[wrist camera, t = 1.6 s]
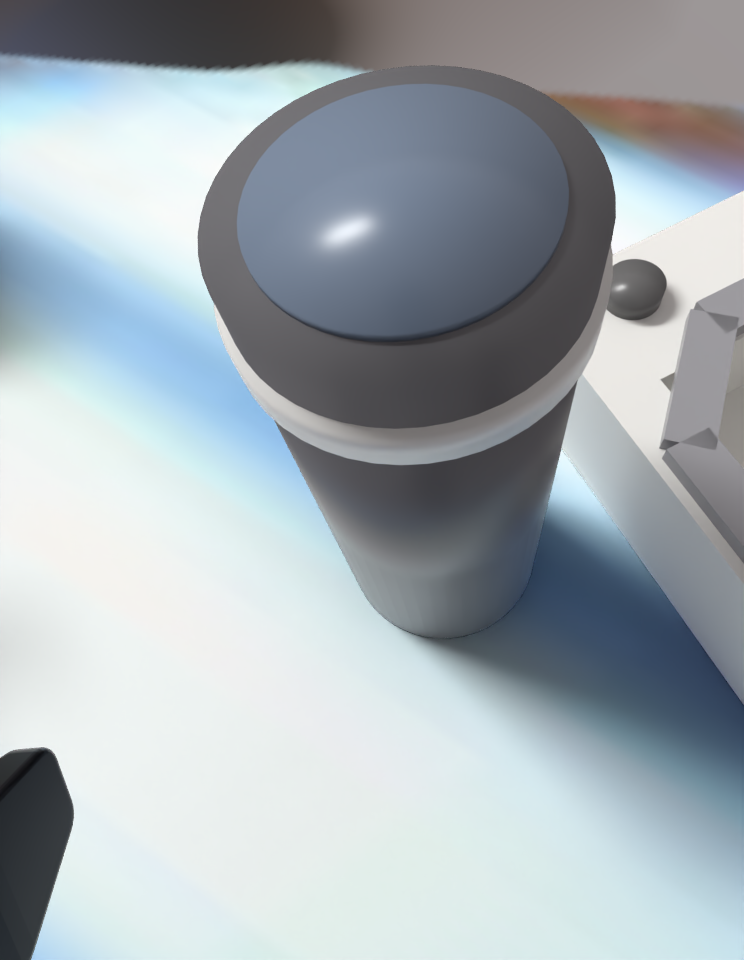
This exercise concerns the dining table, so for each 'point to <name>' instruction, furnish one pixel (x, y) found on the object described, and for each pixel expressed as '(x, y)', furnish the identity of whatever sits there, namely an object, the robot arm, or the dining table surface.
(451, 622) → the lens
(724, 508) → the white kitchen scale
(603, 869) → the dining table surface
